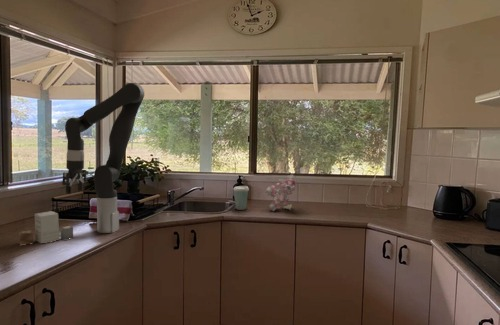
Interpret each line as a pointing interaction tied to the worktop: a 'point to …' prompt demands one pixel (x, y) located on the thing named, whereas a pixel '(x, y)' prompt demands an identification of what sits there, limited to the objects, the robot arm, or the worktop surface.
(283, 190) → the flower
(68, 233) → the slate marked cylinder
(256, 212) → the worktop surface
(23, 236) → the walnut marked block
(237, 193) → the disposable coffee cup
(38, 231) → the supplement box
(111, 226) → the robot arm
